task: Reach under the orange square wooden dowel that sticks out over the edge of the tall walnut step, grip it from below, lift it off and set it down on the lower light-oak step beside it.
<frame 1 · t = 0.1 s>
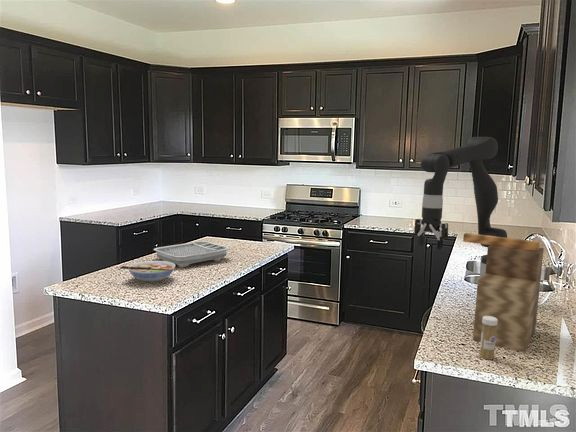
hand: (429, 247, 185), 29 cm above the worktop, tool pointing down, fingers open, 8 cm apart
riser: (504, 335, 174), on the worktop
dowel: (499, 245, 178), point 32 cm above the worktop, touching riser
sprinkles bottle: (486, 357, 155), on the worktop
ramen bowl: (152, 281, 233), on the worktop
dish rack: (191, 261, 276), on the worktop
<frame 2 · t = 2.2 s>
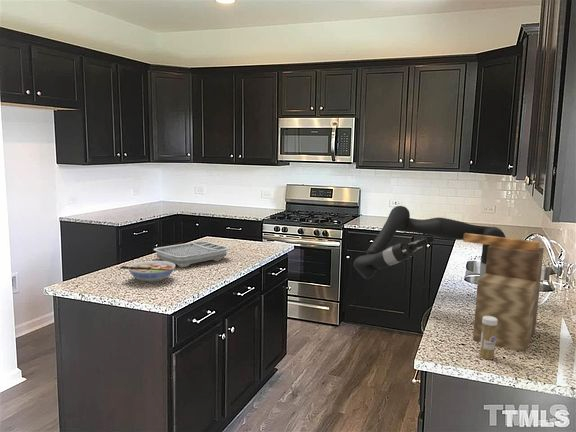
hand: (430, 239, 193), 31 cm above the worktop, tool pointing upward, fingers open, 8 cm apart
nothing on the worktop moved.
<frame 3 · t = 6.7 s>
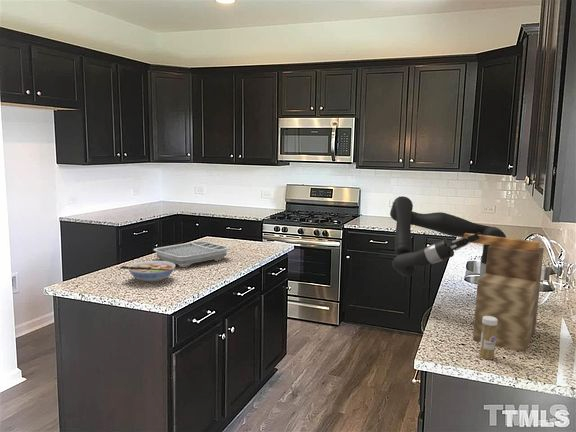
hand: (479, 235, 181), 35 cm above the worktop, tool pointing upward, fingers closed on dowel, 3 cm apart
dowel: (499, 245, 178), point 32 cm above the worktop, touching gripper, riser
everything else where it was.
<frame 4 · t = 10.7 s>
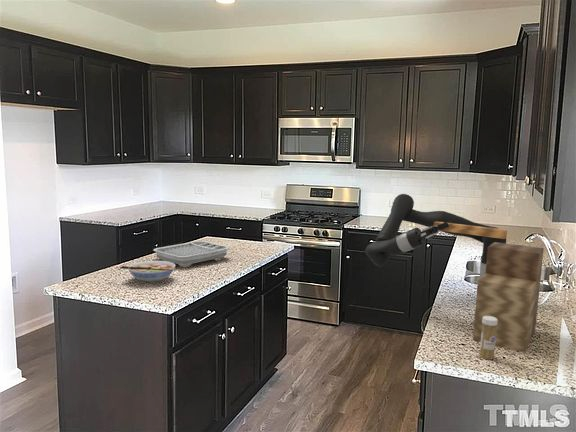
hand: (449, 223, 183), 39 cm above the worktop, tool pointing upward, fingers closed on dowel, 3 cm apart
dowel: (468, 233, 179), point 36 cm above the worktop, touching gripper
everything else where it was.
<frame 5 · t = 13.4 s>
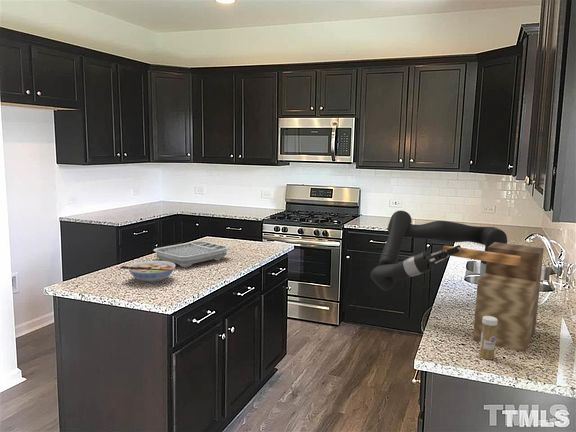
hand: (459, 248, 174), 31 cm above the worktop, tool pointing upward, fingers closed on dowel, 3 cm apart
dowel: (479, 259, 171), point 28 cm above the worktop, touching gripper
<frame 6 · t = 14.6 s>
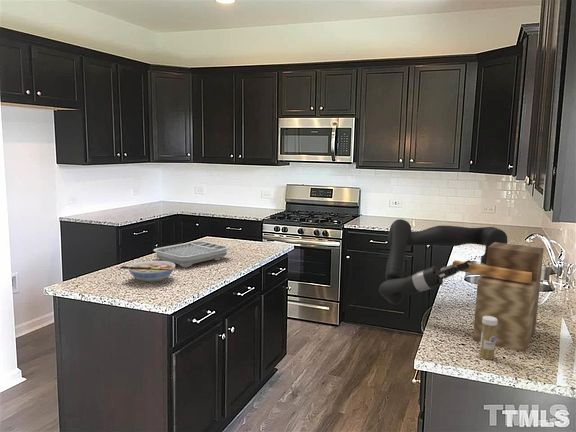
hand: (469, 263, 173), 26 cm above the worktop, tool pointing upward, fingers closed on dowel, 3 cm apart
dowel: (490, 275, 169), point 23 cm above the worktop, touching gripper
everything else where it was.
when the fingers open (26 cm above the worktop, at t = 15.0 s): dowel stays where it is, resting on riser.
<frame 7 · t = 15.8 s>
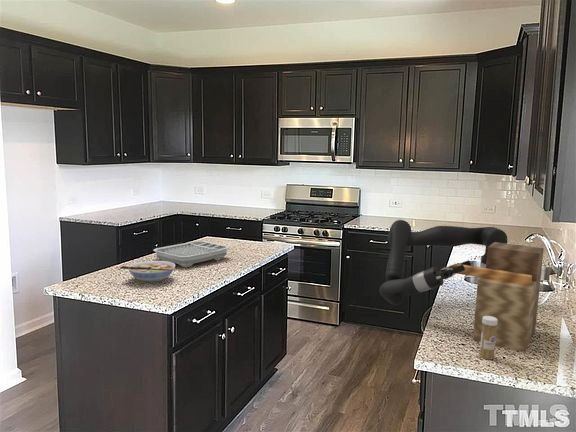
hand: (467, 265, 173), 25 cm above the worktop, tool pointing upward, fingers open, 8 cm apart
dowel: (490, 278, 169), point 22 cm above the worktop, touching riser
everything else where it was.
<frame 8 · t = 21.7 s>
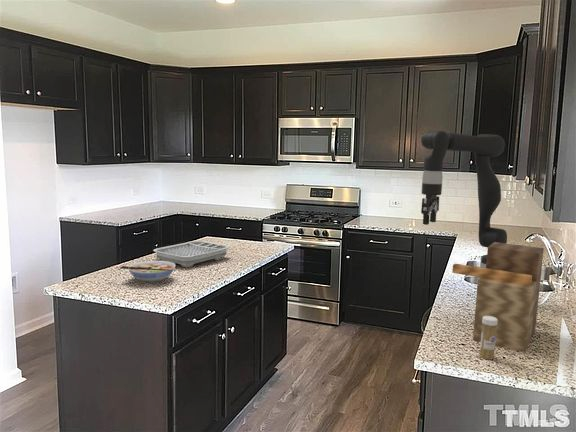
hand: (429, 223, 188), 38 cm above the worktop, tool pointing down, fingers open, 8 cm apart
at the end: dowel inside the target area (0.1 cm from its centre), point 22.0 cm above the worktop; dowel tilted 0°; the gripper is holding nothing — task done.
